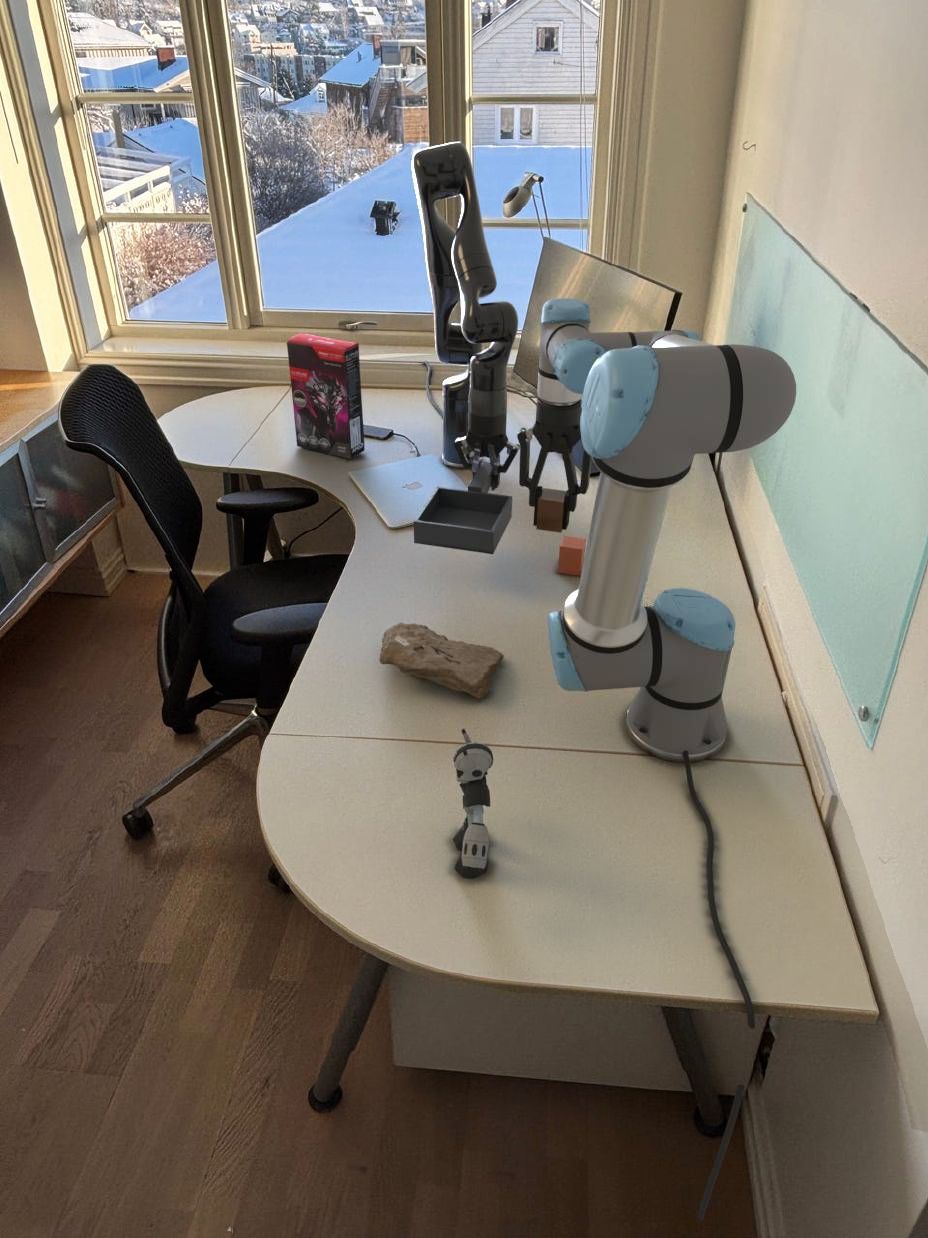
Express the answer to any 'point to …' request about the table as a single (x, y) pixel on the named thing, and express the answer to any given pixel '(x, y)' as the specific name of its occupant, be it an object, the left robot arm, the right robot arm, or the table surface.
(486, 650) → the stone
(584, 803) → the table surface
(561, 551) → the terracotta block
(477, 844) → the robot
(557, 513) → the walnut block
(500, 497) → the tote
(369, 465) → the table surface
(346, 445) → the graphics card box
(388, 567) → the table surface
